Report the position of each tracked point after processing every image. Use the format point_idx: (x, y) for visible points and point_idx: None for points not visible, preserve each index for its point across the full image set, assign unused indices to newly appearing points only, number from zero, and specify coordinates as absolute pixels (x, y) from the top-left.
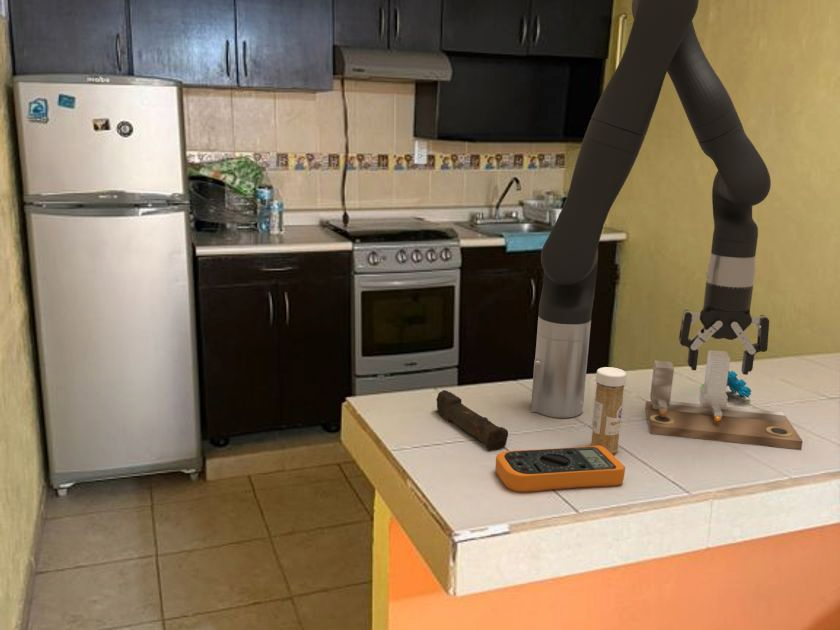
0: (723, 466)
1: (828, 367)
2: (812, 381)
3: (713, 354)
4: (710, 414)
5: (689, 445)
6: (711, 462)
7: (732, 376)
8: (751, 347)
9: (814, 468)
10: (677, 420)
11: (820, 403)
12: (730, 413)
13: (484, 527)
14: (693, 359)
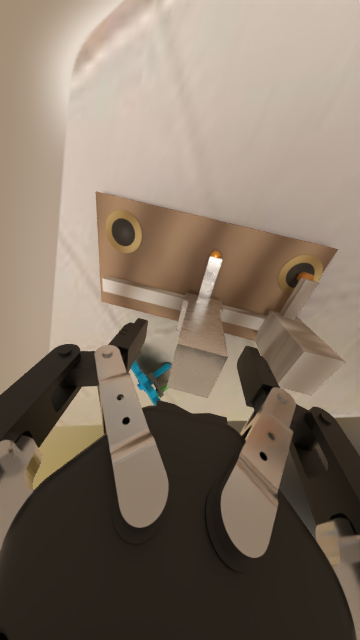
0: (282, 62)
1: None
2: None
3: (212, 372)
4: None
5: (287, 195)
6: (296, 89)
7: (144, 374)
8: (103, 362)
9: (99, 90)
10: (271, 274)
11: None
12: (176, 294)
13: None
14: (264, 365)
